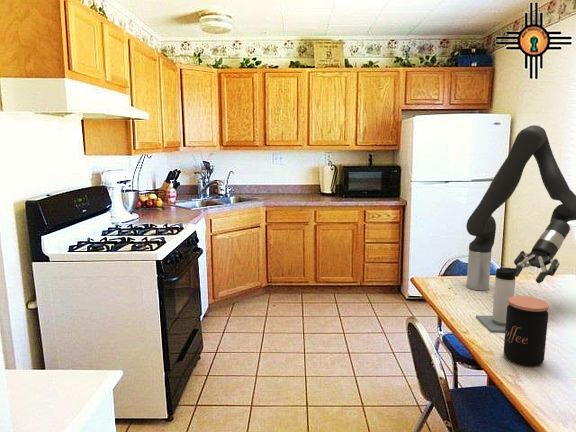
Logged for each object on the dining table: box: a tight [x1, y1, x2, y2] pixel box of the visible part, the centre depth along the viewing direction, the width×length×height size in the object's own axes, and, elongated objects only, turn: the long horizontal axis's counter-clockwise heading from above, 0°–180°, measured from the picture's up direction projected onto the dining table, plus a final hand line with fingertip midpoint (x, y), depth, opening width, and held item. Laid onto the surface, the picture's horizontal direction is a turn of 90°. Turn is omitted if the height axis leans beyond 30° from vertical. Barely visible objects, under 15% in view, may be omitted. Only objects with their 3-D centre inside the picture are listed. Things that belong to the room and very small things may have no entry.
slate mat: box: [475, 315, 506, 334], centre depth 153 cm, size 13×13×1 cm
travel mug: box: [492, 267, 517, 326], centre depth 152 cm, size 6×7×20 cm
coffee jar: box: [503, 295, 550, 368], centre depth 127 cm, size 11×11×18 cm
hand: (526, 278), depth 157 cm, fingers open, 8 cm apart
